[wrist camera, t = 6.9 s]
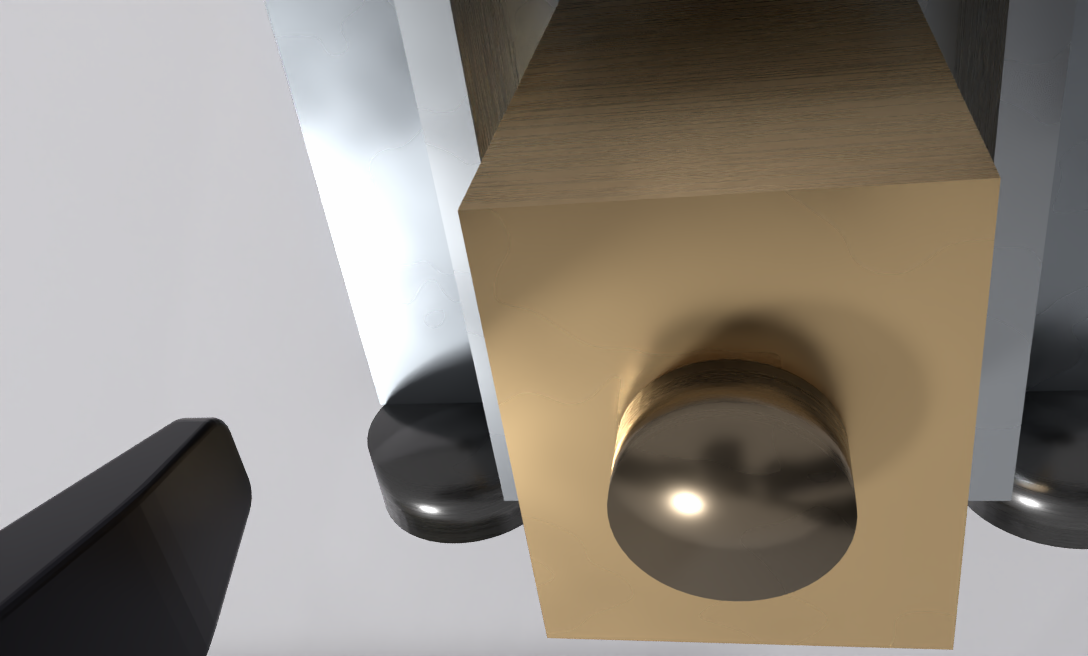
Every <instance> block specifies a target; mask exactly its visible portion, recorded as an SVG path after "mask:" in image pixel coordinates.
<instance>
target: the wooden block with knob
mask: <svg viewBox="0 0 1088 656" xmlns="http://www.w3.org/2000/svg"><path fill="white" fill-rule="evenodd" d="M1000 180H1001V177H1000V175H999V173H998V171H997V169H996V167H995V165H994V163H993V160H992V158H991V156H990V154H989V152H988V150H987V148H986V146H985V143H984V141H983V139H982V137H981V135H980V133H979V131H978V129H977V126H976V124H975V122H974V120H973V118H972V116H971V114H970V112H969V109H968V107H967V105H966V103H965V101H964V99H963V97H962V95H961V92H960V90H959V88H958V86H957V84H956V82H955V80H954V78H953V76H952V73H951V71H950V69H949V67H948V65H947V63H946V61H945V59H944V56H943V54H942V52H941V50H940V48H939V46H938V44H937V42H936V39H935V37H934V35H933V33H932V31H931V29H930V27H929V25H928V22H927V20H926V18H925V16H924V14H923V12H922V10H921V8H920V5H919V3H918V1H917V0H560V1H559V3H558V5H557V7H556V9H555V11H554V13H553V15H552V17H551V19H550V21H549V23H548V25H547V27H546V29H545V31H544V34H543V36H542V38H541V40H540V42H539V44H538V46H537V48H536V50H535V52H534V54H533V56H532V58H531V60H530V62H529V64H528V66H527V69H526V71H525V73H524V75H523V77H522V79H521V81H520V83H519V85H518V87H517V89H516V91H515V93H514V95H513V97H512V99H511V101H510V104H509V106H508V108H507V110H506V112H505V114H504V116H503V118H502V120H501V122H500V124H499V126H498V128H497V130H496V132H495V134H494V136H493V139H492V141H491V143H490V145H489V147H488V149H487V151H486V153H485V155H484V157H483V159H482V161H481V163H480V165H479V167H478V169H477V171H476V174H475V176H474V178H473V180H472V182H471V184H470V186H469V188H468V190H467V192H466V194H465V196H464V198H463V200H462V202H461V204H460V206H459V208H458V215H459V220H460V225H461V230H462V234H463V239H464V244H465V249H466V253H467V258H468V263H469V268H470V272H471V277H472V282H473V287H474V291H475V296H476V301H477V306H478V310H479V315H480V320H481V325H482V329H483V334H484V339H485V344H486V348H487V353H488V358H489V363H490V368H491V372H492V377H493V382H494V387H495V391H496V396H497V401H498V406H499V410H500V415H501V420H502V425H503V429H504V434H505V439H506V444H507V448H508V453H509V458H510V463H511V467H512V472H513V477H514V482H515V486H516V491H517V496H518V501H519V505H520V510H521V515H522V520H523V524H524V529H525V534H526V539H527V544H528V548H529V553H530V558H531V563H532V567H533V572H534V577H535V582H536V586H537V591H538V596H539V601H540V605H541V610H542V615H543V620H544V624H545V629H546V634H547V638H567V639H602V640H637V641H671V642H706V643H741V644H775V645H810V646H845V647H880V648H914V649H949V650H953V644H954V634H955V625H956V615H957V605H958V595H959V585H960V575H961V565H962V556H963V546H964V536H965V526H966V516H967V506H968V496H969V486H970V477H971V467H972V457H973V447H974V437H975V427H976V417H977V407H978V398H979V388H980V378H981V368H982V358H983V348H984V338H985V328H986V319H987V309H988V299H989V289H990V279H991V269H992V259H993V250H994V240H995V230H996V220H997V210H998V200H999V190H1000Z"/></svg>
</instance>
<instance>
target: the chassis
mask: <svg viewBox="0 0 1088 656" xmlns="http://www.w3.org/2000/svg"><path fill="white" fill-rule="evenodd" d="M559 1H560V0H264V2H265V6H266V9H267V13H268V16H269V20H270V23H271V26H272V30H273V33H274V37H275V40H276V44H277V47H278V51H279V54H280V58H281V61H282V65H283V68H284V72H285V75H286V79H287V82H288V86H289V89H290V93H291V96H292V100H293V103H294V106H295V110H296V113H297V117H298V120H299V124H300V127H301V131H302V134H303V138H304V141H305V145H306V148H307V152H308V155H309V159H310V162H311V166H312V169H313V173H314V176H315V179H316V183H317V186H318V190H319V193H320V197H321V200H322V204H323V207H324V211H325V214H326V218H327V221H328V225H329V228H330V232H331V235H332V239H333V242H334V246H335V249H336V252H337V256H338V259H339V263H340V266H341V270H342V273H343V277H344V280H345V284H346V287H347V291H348V294H349V298H350V301H351V305H352V308H353V312H354V315H355V319H356V322H357V326H358V329H359V332H360V336H361V339H362V343H363V346H364V350H365V353H366V357H367V360H368V364H369V367H370V371H371V374H372V378H373V381H374V385H375V388H376V392H377V395H378V399H379V402H380V404H385V405H384V406H383V407H382V408H381V409H380V411H379V412H378V413H377V415H376V416H375V418H374V420H373V421H372V423H371V426H370V429H369V432H368V438H367V439H368V449H369V452H370V456H371V459H372V462H373V466H374V469H375V472H376V476H377V479H378V482H379V485H380V489H381V492H382V495H383V499H384V502H385V505H386V508H387V511H388V513H389V515H390V517H391V518H392V519H393V520H394V522H395V523H396V524H397V525H398V526H399V527H401V528H402V529H403V530H405V531H406V532H408V533H410V534H412V535H414V536H416V537H419V538H422V539H425V540H429V541H434V542H440V543H467V542H475V541H480V540H485V539H489V538H492V537H496V536H499V535H502V534H504V533H506V532H509V531H511V530H513V529H515V528H517V527H519V526H521V525H523V520H522V515H521V510H520V505H519V501H518V496H517V491H516V486H515V482H514V477H513V472H512V467H511V463H510V458H509V453H508V448H507V444H506V439H505V434H504V429H503V425H502V420H501V415H500V410H499V406H498V401H497V396H496V391H495V387H494V382H493V377H492V372H491V368H490V363H489V358H488V353H487V348H486V344H485V339H484V334H483V329H482V325H481V320H480V315H479V310H478V306H477V301H476V296H475V291H474V287H473V282H472V277H471V272H470V268H469V263H468V258H467V253H466V249H465V244H464V239H463V234H462V230H461V225H460V220H459V215H458V208H459V206H460V204H461V202H462V200H463V198H464V196H465V194H466V192H467V190H468V188H469V186H470V184H471V182H472V180H473V178H474V176H475V174H476V171H477V169H478V167H479V165H480V163H481V161H482V159H483V157H484V155H485V153H486V151H487V149H488V147H489V145H490V143H491V141H492V139H493V136H494V134H495V132H496V130H497V128H498V126H499V124H500V122H501V120H502V118H503V116H504V114H505V112H506V110H507V108H508V106H509V104H510V101H511V99H512V97H513V95H514V93H515V91H516V89H517V87H518V85H519V83H520V81H521V79H522V77H523V75H524V73H525V71H526V69H527V66H528V64H529V62H530V60H531V58H532V56H533V54H534V52H535V50H536V48H537V46H538V44H539V42H540V40H541V38H542V36H543V34H544V31H545V29H546V27H547V25H548V23H549V21H550V19H551V17H552V15H553V13H554V11H555V9H556V7H557V5H558V3H559ZM917 1H918V3H919V5H920V8H921V10H922V12H923V14H924V16H925V18H926V20H927V22H928V25H929V27H930V29H931V31H932V33H933V35H934V37H935V39H936V42H937V44H938V46H939V48H940V50H941V52H942V54H943V56H944V59H945V61H946V63H947V65H948V67H949V69H950V71H951V73H952V76H953V78H954V80H955V82H956V84H957V86H958V88H959V90H960V92H961V95H962V97H963V99H964V101H965V103H966V105H967V107H968V109H969V112H970V114H971V116H972V118H973V120H974V122H975V124H976V126H977V129H978V131H979V133H980V135H981V137H982V139H983V141H984V143H985V146H986V148H987V150H988V152H989V154H990V156H991V158H992V160H993V163H994V165H995V167H996V169H997V171H998V173H999V175H1000V177H1001V180H1000V190H999V200H998V210H997V220H996V230H995V240H994V250H993V259H992V269H991V279H990V289H989V299H988V309H987V319H986V328H985V338H984V348H983V358H982V368H981V378H980V388H979V398H978V407H977V417H976V427H975V437H974V447H973V457H972V467H971V477H970V486H969V496H968V506H969V507H970V508H971V509H972V510H973V511H974V512H975V513H977V514H978V515H979V516H980V517H982V518H983V519H984V520H986V521H988V522H989V523H991V524H992V525H994V526H996V527H998V528H1000V529H1002V530H1004V531H1006V532H1008V533H1010V534H1013V535H1015V536H1018V537H1020V538H1023V539H1026V540H1030V541H1033V542H1036V543H1040V544H1045V545H1050V546H1055V547H1063V548H1073V549H1088V0H917Z"/></svg>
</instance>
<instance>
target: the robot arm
mask: <svg viewBox="0 0 1088 656" xmlns="http://www.w3.org/2000/svg"><path fill="white" fill-rule="evenodd" d="M251 499H252V495H251V485H250V482H249V478H248V476H247V473H246V471H245V468H244V466H243V463H242V461H241V458H240V455H239V453H238V450H237V448H236V445H235V443H234V440H233V438H232V435H231V432H230V430H229V428H228V426H227V425H226V424H225V423H224V422H223V421H222V420H220V419H217V418H182V419H178V420H176V421H174V422H172V423H171V424H169V425H167V426H166V427H164V428H163V429H161V430H159V431H158V432H156V433H155V434H153V435H151V436H150V437H148V438H147V439H145V440H143V441H142V442H140V443H139V444H137V445H135V446H134V447H132V448H131V449H129V450H127V451H126V452H124V453H123V454H121V455H119V456H118V457H116V458H115V459H113V460H112V461H110V462H108V463H107V464H105V465H104V466H102V467H100V468H99V469H97V470H96V471H94V472H92V473H91V474H89V475H88V476H86V477H84V478H83V479H81V480H80V481H78V482H76V483H75V484H73V485H72V486H70V487H68V488H67V489H65V490H64V491H62V492H61V493H59V494H57V495H56V496H54V497H53V498H51V499H49V500H48V501H46V502H45V503H43V504H41V505H40V506H38V507H37V508H35V509H33V510H32V511H30V512H29V513H27V514H25V515H24V516H22V517H21V518H19V519H17V520H16V521H14V522H13V523H11V524H10V525H8V526H6V527H5V528H3V529H2V530H0V656H206V655H207V653H208V650H209V647H210V644H211V641H212V638H213V635H214V632H215V629H216V626H217V622H218V619H219V615H220V612H221V608H222V605H223V601H224V598H225V594H226V591H227V588H228V584H229V581H230V577H231V574H232V570H233V567H234V563H235V560H236V556H237V553H238V549H239V546H240V543H241V539H242V536H243V532H244V529H245V525H246V522H247V518H248V515H249V511H250V507H251Z"/></svg>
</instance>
